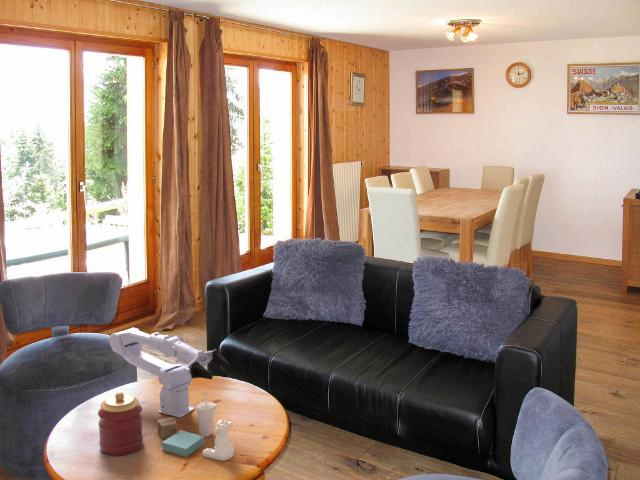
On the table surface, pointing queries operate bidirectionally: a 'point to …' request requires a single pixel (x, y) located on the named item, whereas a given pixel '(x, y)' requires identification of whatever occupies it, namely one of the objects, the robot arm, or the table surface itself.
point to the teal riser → (183, 443)
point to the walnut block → (166, 428)
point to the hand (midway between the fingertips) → (220, 371)
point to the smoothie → (205, 416)
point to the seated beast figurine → (221, 443)
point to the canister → (120, 425)
